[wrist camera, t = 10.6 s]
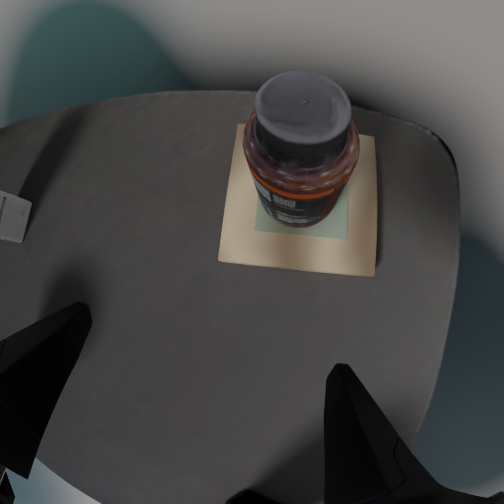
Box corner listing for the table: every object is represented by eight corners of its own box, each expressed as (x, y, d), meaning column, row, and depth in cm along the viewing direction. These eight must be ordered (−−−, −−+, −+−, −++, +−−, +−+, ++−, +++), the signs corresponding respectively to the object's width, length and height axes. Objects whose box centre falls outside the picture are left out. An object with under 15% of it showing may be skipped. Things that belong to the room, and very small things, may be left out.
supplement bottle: (324, 153, 21) (348, 52, 9) (343, 222, 20) (400, 156, 9) (252, 165, 21) (222, 67, 10) (266, 237, 20) (243, 180, 9)
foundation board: (369, 144, 22) (374, 136, 20) (368, 276, 21) (374, 276, 19) (240, 132, 23) (238, 123, 22) (222, 261, 22) (217, 260, 21)
